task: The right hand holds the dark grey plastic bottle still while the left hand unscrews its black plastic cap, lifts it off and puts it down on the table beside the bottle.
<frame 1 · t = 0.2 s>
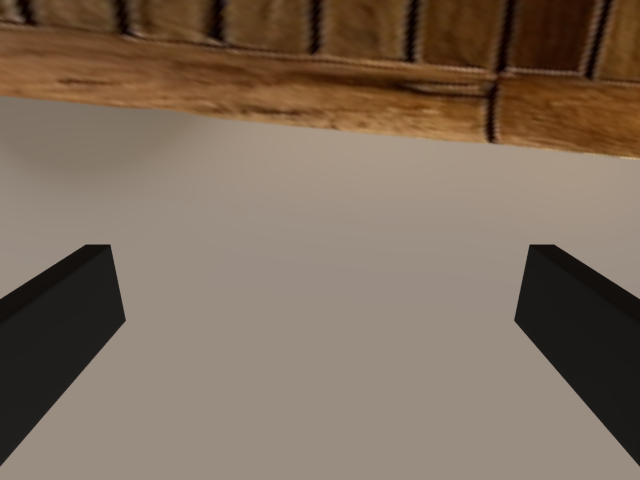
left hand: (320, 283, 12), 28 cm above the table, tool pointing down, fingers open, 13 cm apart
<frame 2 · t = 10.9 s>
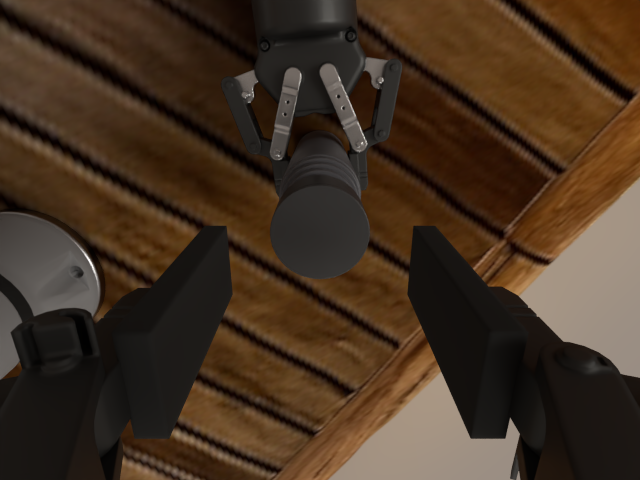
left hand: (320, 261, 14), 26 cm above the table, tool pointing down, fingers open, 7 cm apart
right hand: (323, 197, 33), fingers closed on bottle, 5 cm apart
cap: (319, 232, 17), point 23 cm above the table, screwed on, not yet turned
bottle: (320, 155, 38), on the table, touching right hand
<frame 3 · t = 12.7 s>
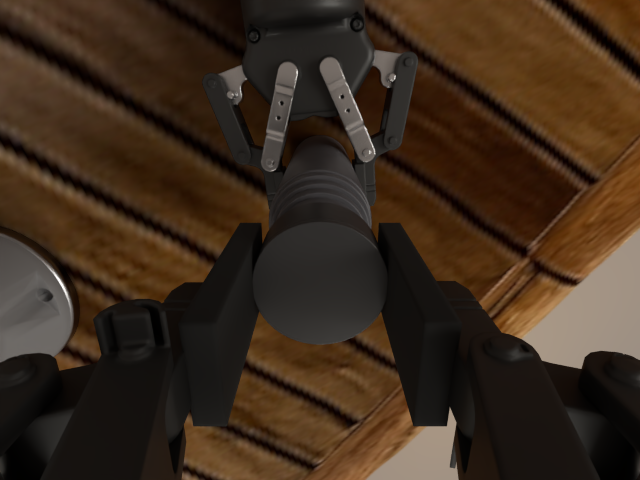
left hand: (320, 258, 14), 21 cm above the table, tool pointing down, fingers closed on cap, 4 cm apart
right hand: (324, 214, 29), fingers closed on bottle, 5 cm apart
cap: (320, 282, 12), point 23 cm above the table, screwed on, not yet turned, touching left hand
bottle: (320, 164, 34), on the table, touching right hand
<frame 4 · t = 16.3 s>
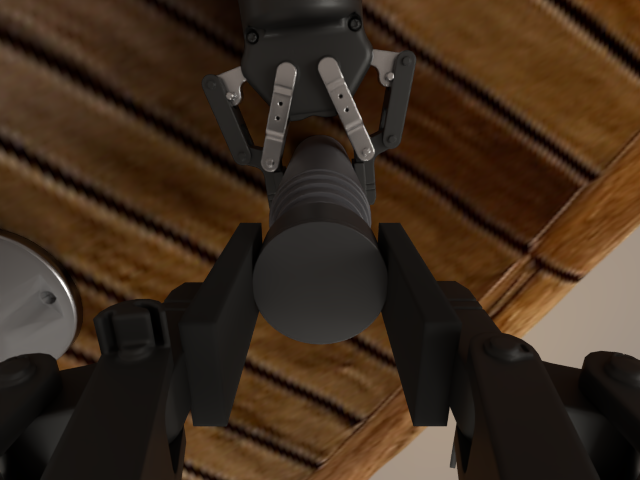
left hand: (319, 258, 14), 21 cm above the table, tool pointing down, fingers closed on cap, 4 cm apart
right hand: (324, 213, 29), fingers closed on bottle, 5 cm apart
cap: (320, 282, 12), point 23 cm above the table, turned 119° so far, risen 0.1 cm, still on its thread, touching left hand
bottle: (320, 163, 34), on the table, touching right hand
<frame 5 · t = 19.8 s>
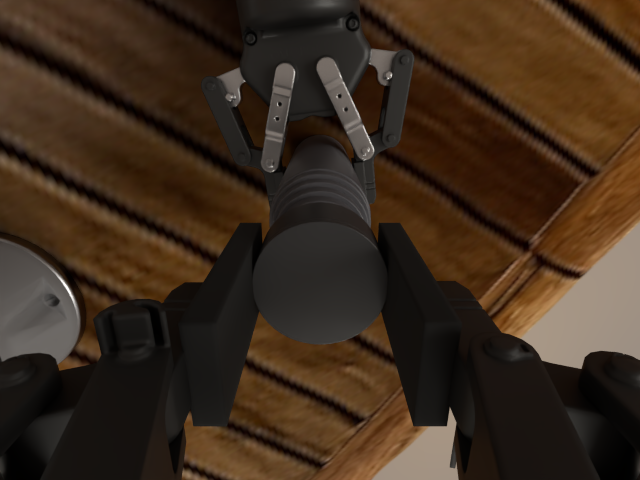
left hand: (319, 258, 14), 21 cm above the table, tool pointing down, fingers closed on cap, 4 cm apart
right hand: (324, 213, 29), fingers closed on bottle, 5 cm apart
cap: (320, 282, 12), point 23 cm above the table, turned 238° so far, risen 0.2 cm, still on its thread, touching left hand
bottle: (320, 163, 34), on the table, touching right hand
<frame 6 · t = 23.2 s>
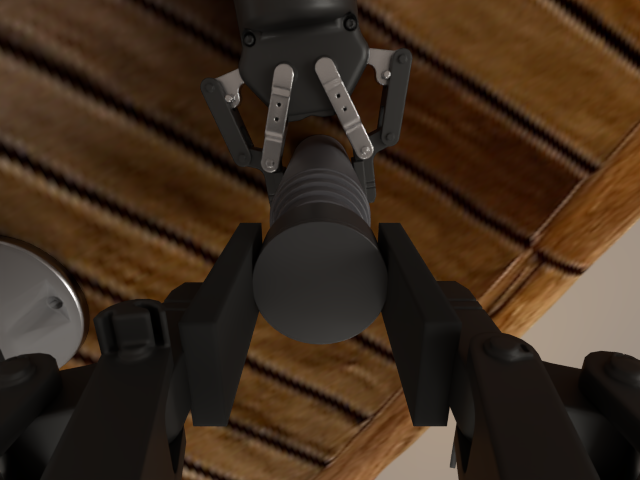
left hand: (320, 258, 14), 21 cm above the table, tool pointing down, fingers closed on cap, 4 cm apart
right hand: (325, 212, 29), fingers closed on bottle, 5 cm apart
cap: (320, 282, 12), point 23 cm above the table, turned 358° so far, risen 0.3 cm, still on its thread, touching left hand
bottle: (320, 163, 34), on the table, touching right hand
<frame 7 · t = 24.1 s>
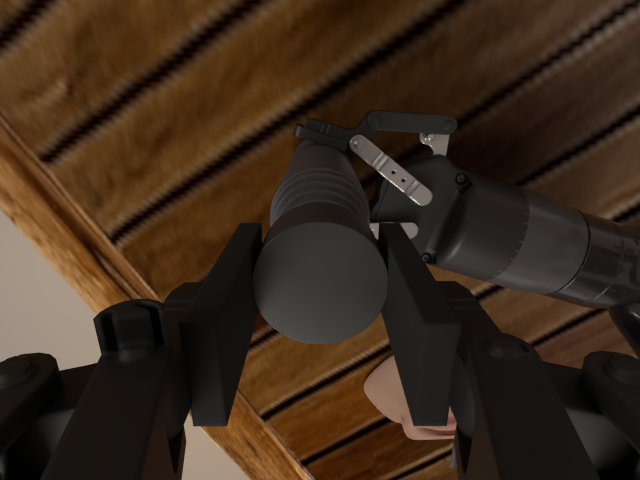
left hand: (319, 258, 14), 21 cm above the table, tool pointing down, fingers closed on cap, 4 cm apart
right hand: (285, 167, 28), fingers closed on bottle, 5 cm apart
anatomical model: (427, 385, 43), on the table
cap: (320, 282, 12), point 23 cm above the table, off its thread, touching left hand
bottle: (320, 163, 34), on the table, touching right hand
when the left hand's fingers open (1 cm above the table, at t = 30.9 s): cap stays where it is, point 2 cm above the table.
when the right hand's fingers open (6 cm above the table, at t = 32.2 s): bottle stays where it is, on the table.
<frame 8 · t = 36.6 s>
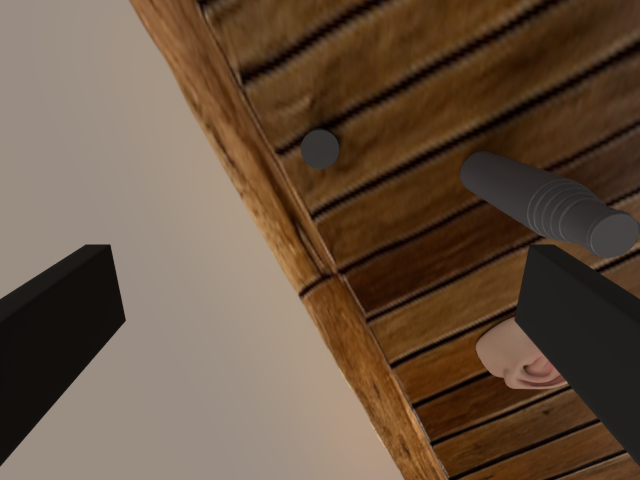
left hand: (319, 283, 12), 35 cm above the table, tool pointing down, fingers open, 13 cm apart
anatomical model: (523, 348, 55), on the table
cap: (320, 149, 44), point 2 cm above the table, off its thread
bottle: (480, 171, 46), on the table
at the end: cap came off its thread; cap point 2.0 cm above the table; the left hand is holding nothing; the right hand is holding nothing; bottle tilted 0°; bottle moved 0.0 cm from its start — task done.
